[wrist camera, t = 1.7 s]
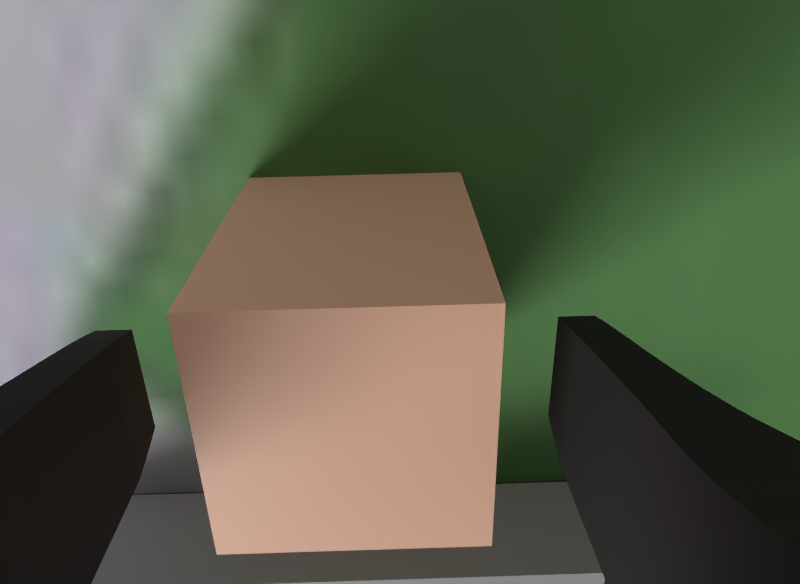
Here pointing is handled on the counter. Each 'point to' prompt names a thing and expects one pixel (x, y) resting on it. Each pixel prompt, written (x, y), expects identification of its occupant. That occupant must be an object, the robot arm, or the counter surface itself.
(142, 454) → the robot arm
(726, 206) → the counter surface
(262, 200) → the terracotta block
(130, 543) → the plinth
